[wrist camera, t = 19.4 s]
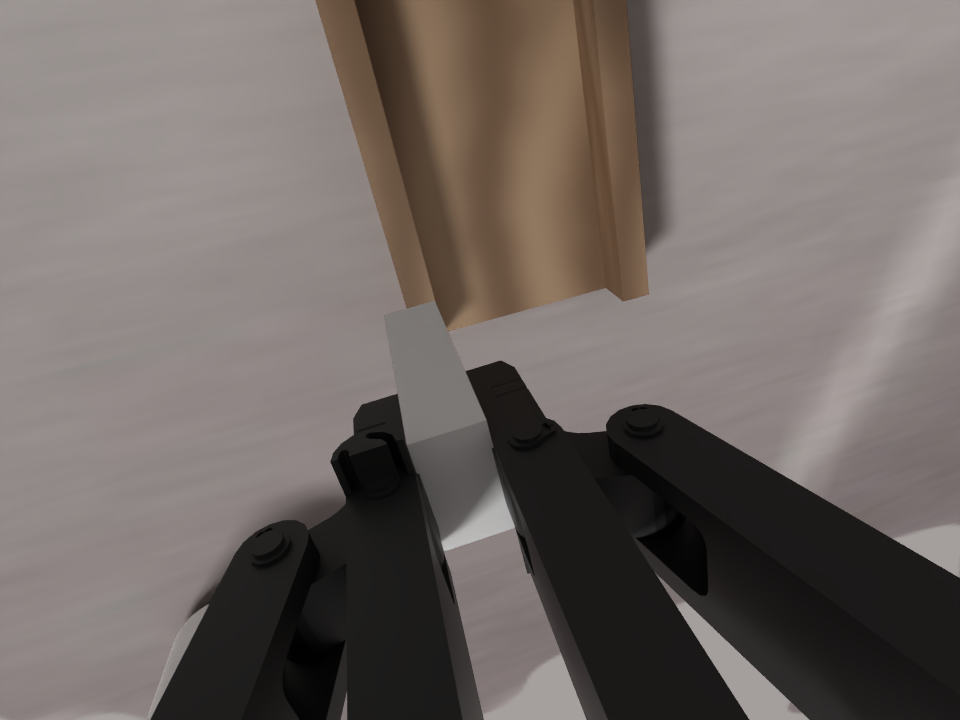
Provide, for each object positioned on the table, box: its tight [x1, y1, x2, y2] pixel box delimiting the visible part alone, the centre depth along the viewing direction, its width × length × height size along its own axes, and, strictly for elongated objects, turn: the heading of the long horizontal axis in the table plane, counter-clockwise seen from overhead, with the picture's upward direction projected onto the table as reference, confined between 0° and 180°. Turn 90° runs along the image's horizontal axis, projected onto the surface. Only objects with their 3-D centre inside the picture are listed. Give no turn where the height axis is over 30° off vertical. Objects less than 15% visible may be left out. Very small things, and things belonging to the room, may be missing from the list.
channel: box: [316, 0, 649, 331], centre depth 23 cm, size 13×25×10 cm, turn 13°
